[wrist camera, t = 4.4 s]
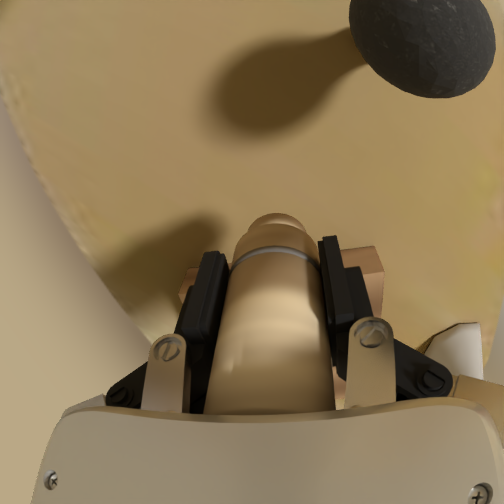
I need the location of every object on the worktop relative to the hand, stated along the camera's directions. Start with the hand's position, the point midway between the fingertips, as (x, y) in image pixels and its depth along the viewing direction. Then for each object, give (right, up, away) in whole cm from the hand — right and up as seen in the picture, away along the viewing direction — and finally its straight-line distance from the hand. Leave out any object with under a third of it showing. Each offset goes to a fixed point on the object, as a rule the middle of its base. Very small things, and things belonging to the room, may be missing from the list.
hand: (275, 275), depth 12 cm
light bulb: (+6, +13, +1) cm, 14 cm away
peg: (0, +1, +2) cm, 3 cm away
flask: (+20, -9, +14) cm, 26 cm away
